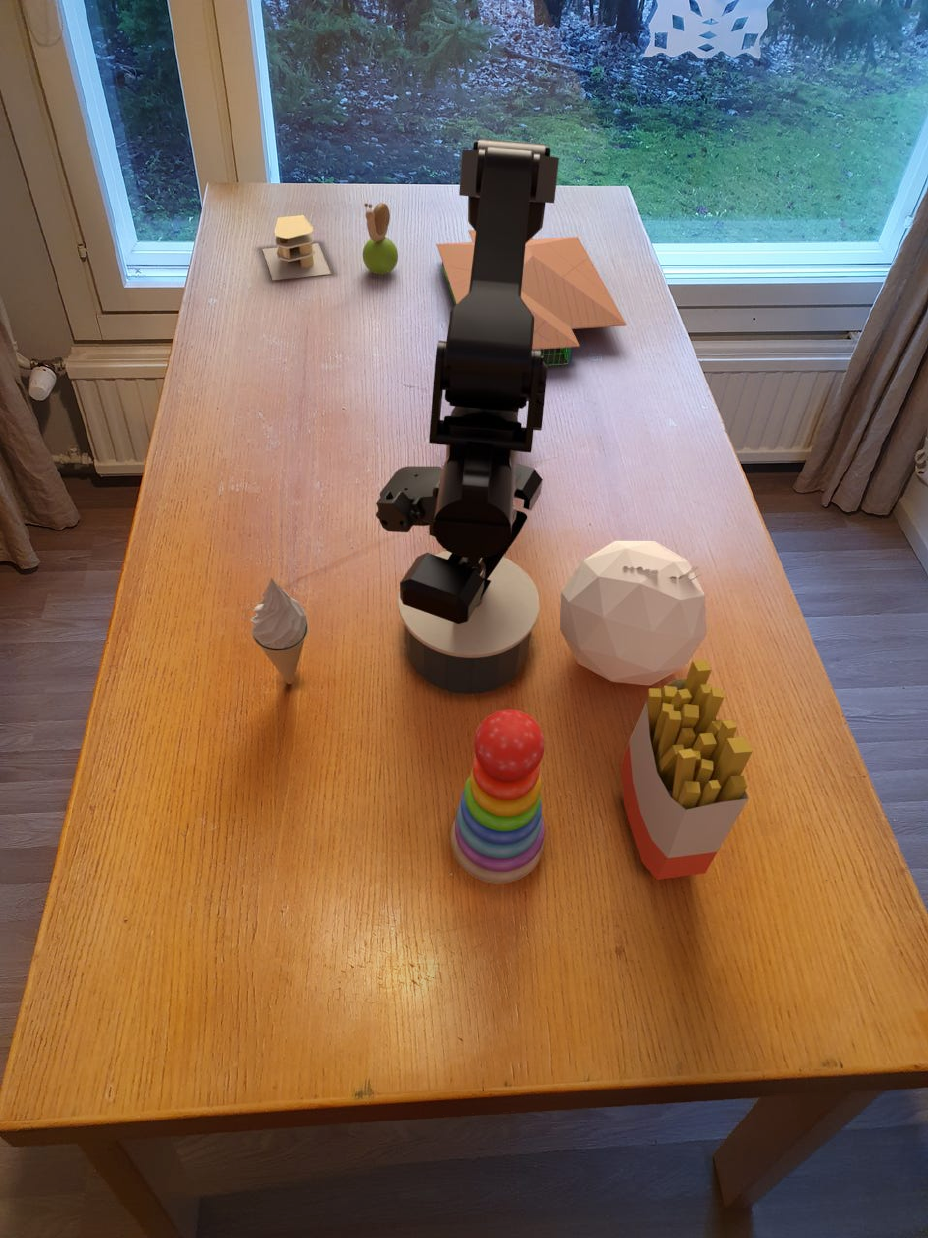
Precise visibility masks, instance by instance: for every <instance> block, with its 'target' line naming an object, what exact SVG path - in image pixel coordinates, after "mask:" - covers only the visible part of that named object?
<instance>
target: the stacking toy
mask: <svg viewBox="0 0 928 1238" xmlns="http://www.w3.org/2000/svg"><path fill="white" fill-rule="evenodd" d="M545 744H546V743H545V737H544V733H543V731H542V729H541V727H540V726H539V724H538V722H537V721H536V720H535V719H534V718H533V717H532V716H530V715H529V714H527V713H525V712H524V711H521V710H517V709H512V708H511V709H508V708H507V709H501V710H497V711H494V712H493V713H491V714H489V715H488V716H486V717H485V718H484V719H483V720H482V722H480V724H479V725H478V727H477V729H476V731H475V734H474V738H473V751H474V757H473V761H472V769H471V771H470V774H469V776H468V777H467V780H466V781H465V784H464V788H463V790H462V793H461V796H460V800H459V802H458V806H457V812H456V816H455V818H454V820H453V821H452V824H451V828H450V835H449V837H450V838H449V841H450V847H451V850H452V851H451V852H452V853H453V856H454V858H455V860H456V861H457V864H458V865H459V866H460V867H461V868H462V869H463V870H464V871H465V872H466V873H467V874H468V875H470V876H471V877H473V878H475V879H476V880H479V881H480V882H483V883H488V884H495V885H504V884H505V885H506V884H511V883H514V882H517V881H519V880H521V879H524V878H525V877H526V876H528V875H529V874H530V873H531V872H532V871H533V870H534V869H535V868H536V867H537V865H538V864H539V862H540V860H541V858H542V855H543V853H544V850H545V836H546V824H545V820H544V816H543V804H542V788H543V782H542V775H541V766H540V763H541V761H542V760H543V757H544V753H545V746H546V745H545Z"/></svg>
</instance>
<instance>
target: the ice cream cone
mask: <svg viewBox="0 0 928 1238" xmlns="http://www.w3.org/2000/svg"><path fill="white" fill-rule="evenodd" d="M261 596H262V597H263V598H262V599H261V600H260V601H259V604H257V605H256V606H255V607H254V608H253V613H257V614H256V615H254V616H252V617H251V618H250V621H249V622H250V623H252V624H253V625H252V627H251V628H252V629H251V636H252V638H253V640H254V642H255V643H256V644H257V645H258V646H259V647H260V648H261V649H262V651H263V652H264V654H265V655H266V656H267V658H268V659H269V661H270V662H271V663H272V665H273V666H274V667H275V668H276V670H277V671H278V672H279V674H280V675H281V676H282V678H283V679H284V680H285V681H286V683H287V685H292V684H293V682H294V679H295V675H296V672H297V668H298V665H299V661H300V657H301V653H302V650H303V648H304V647H303V646H304V643H305V639H306V638H307V636H308V634H309V622H308V620H307V613H306V611H305V609H304V608H303V605H302V604H301V603H300V601H298V600H296V599H294V598H292V597H291V595H289V593H287V591H286V590H285V589H283V588H281V586H279V584H278V583H277V582H276V581H275V580H274V579H273V578H272V577H270V580H269V583H268V585H267V587H266V588H265V591H264V593H262V594H261Z"/></svg>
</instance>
